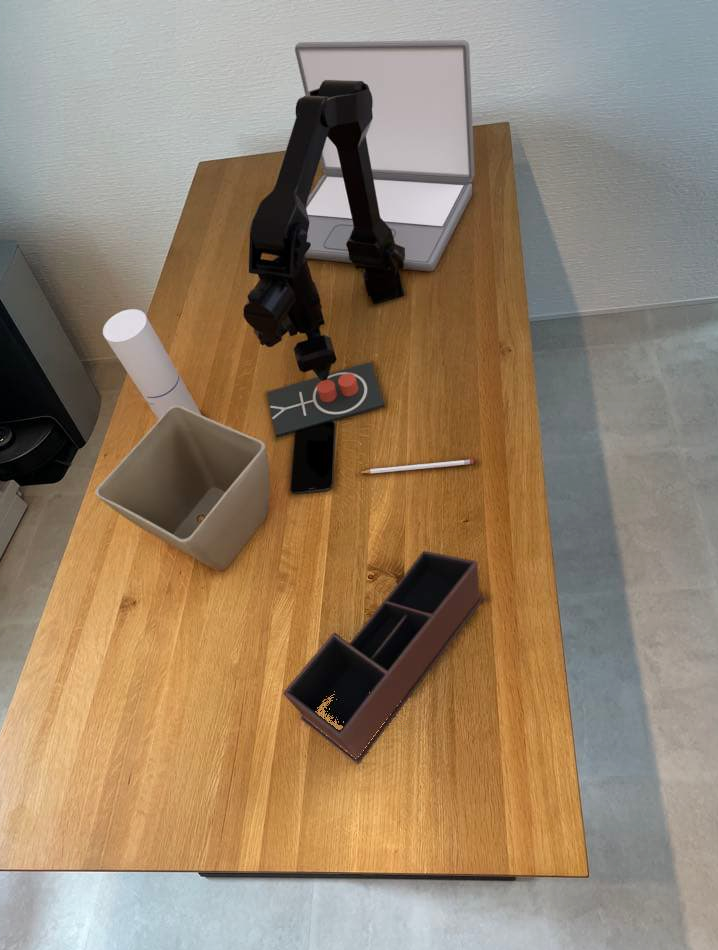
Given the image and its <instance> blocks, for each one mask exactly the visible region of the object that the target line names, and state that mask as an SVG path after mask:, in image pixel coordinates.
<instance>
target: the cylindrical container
mask: <svg viewBox="0 0 718 950" xmlns="http://www.w3.org/2000/svg"><path fill="white" fill-rule="evenodd" d="M102 335H103V337H104V339H105V340H106V342H107V343H108V345H109V346H110V348H111V350H112V351H113V352H114V354H115V356H116V357H117V359H118V360H119V362H120V363H121V365H122V366H123V368H124V369H125V371H126V372H127V374H128V376H129V377H130V379H131V380H132V382H133V384H134V385H135V386H136V388H137V389H138V391H139V393H140V395H142V397H143V399H144V400H145V402H146V404H147V405H148V406H149V408H150V409H151V411H152V413H153V414H154V415H155V417H156V419H157V421H158V420H159V419H160V418H161V417H162V416H163V415H164V414H165V413H166V411H167V410H168V409H169V408H170V407H171V406H174V405H180V406H182V407H184V408H187V409H189V410H191V411H193V412H195V413H198V414H200V415H202V413H201V411H200V409H199V407H198V405H197V404H196V402H195V400H194V399H193V398H194V397H192V395H191V393H190V391H189V390H188V388H187V386H186V385H185V382H184V381H183V379H182V377H181V376H180V374H179V372H178V370H177V368H176V367H175V365H174V363H173V361H172V359H171V358H170V356H169V354H168V352H167V351H166V349H165V347H164V345H163V343H162V342H161V340H160V338H159V337H158V335H157V333H156V331H155V329H154V327H153V326H152V324H151V322H150V320H149V318H148V317H147V315H146V313H145V312H144V311H142V310H140V309H135V308H129V309H125V310H122V311H120V312H117V313H116V314H113V316H111V317H110V318H109V319H108V320H107V321H106V322H105V323H104V326H103V328H102Z"/></svg>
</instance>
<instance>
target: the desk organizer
mask: <svg viewBox="0 0 718 950" xmlns="http://www.w3.org/2000/svg"><path fill="white" fill-rule="evenodd" d="M478 569H479V567H478V560H471V559H466V558H462V557H458V556H457V557H456V556H452V555H446V554H442V553H437V552H433V551H427V550H423V551H421V553H420V554H419V555H418V557H417V558H416V560H415V561H414V563H412V565H410V567H409V569H408V570H407V571H406V573H405V574H404V575H403V577H402V578H401V579H400V581H399V582H398V583H397V584H396V586H394V588H393V589H392V590H391V591H390V593H389V594H388V595H387V596H386V598H385V599H384V600H383V601H382V603H380V605H379V606H378V607H377V609H376V610H375V611H374V612H373V614H372V615H371V616H370V617H369V618H368V620H367V621H366V622H365V623H364V625H363V626H362V627H361V628H360V630H359V631H358V632H357V633H356V635H355V636H354V637H353V638H352V639H351V641H350V642H348V641H346V640H345V639H343V637H341V636H340V635H339V634H338V633H336V632H333V633H332V634H331V635H330V636H329V637H328V638H327V640H325V642H323V644H322V646H321V647H320V648H319V649H318V650H317V652H316V653H315V654H314V655H313V656H312V657H311V658H310V660H308V662H307V664H306V665H305V666H304V667H303V668H302V669H301V671H300V672H299V673H298V674H297V675H296V676H295V678H294V679H293V680H292V681H291V682H290V683H289V685H288V686H287V687H286V688H285V690H284V691H283V695H284V697H285V698H286V699H287V700H288V701H289V702H290V703H291V704H292V705H293V707H294V708H295V709H296V710H297V711H298V712H299V713H300V714H301V717H300V718H299V719H300V720H301V721H302V722H303V723H304V724H306V725H307V726H308V727H309V728H311V729H312V730H313V731H315V732H316V733H317V734H319V735H320V736H321V737H322V738H323V739H325V740H326V741H327V742H329V743H330V744H331V745H333V747H335V748H336V749H337V750H339V752H341V753H342V754H343V755H344V756H345V757H346V758H348V759H350V760H351V761H352V762H354V764H355V765H357V766H359V765H360V763H361V761H362V760H363V759H364V758H365V756H367V754H368V753H369V751H370V750H371V749H372V747H373V746H374V744H375V743H376V742H377V741H378V740H379V738H380V737H381V735H382V734H383V733H384V731H385V730H386V729H387V728H388V726H389V725H390V723H391V722H392V721H393V719H394V718H395V717H396V716H397V714H398V713H399V712H400V710H401V709H402V708H403V706H404V705H405V704H406V703H407V701H408V700H409V699H410V697H411V696H412V695H413V694H414V692H415V690H416V689H417V688H418V687H419V685H420V684H421V682H422V681H423V680H424V678H426V676H427V675H428V673H429V672H430V671H431V669H432V668H433V667H434V666H435V664H436V663H437V662H438V660H439V659H440V657H441V656H442V655H443V653H444V652H445V651H446V649H447V648H448V647H449V646H450V644H452V642H453V640H454V639H455V638H456V636H457V635H458V634H459V632H461V630H462V629H463V627H464V626H465V625H466V623H467V622H468V621H469V619H470V618H471V617H472V615H473V614H474V613H475V611H476V610H477V609H478V608H479V606H480V605H481V603H482V602H483V601H484V600H485V599H486V597H485V596H484V595H482V594H480V582H479V570H478ZM334 691H335V692H334ZM369 692H370V693H369ZM333 694H335V695H333ZM331 695H333V696H331ZM326 696H327V697H326ZM330 696H331V697H334V698H332V699H331V700H333V701H331V702H330V704H329V703H328V704H329V705H328V704H327V705H328V706H326V707H327V709H326V708H324V710H325V711H326V712H325V714H326V713H327V715H328V714H329V713H330V714H329V715H330V716H332V715H333V716H332V717H334V718H333V719H330V720H332V721H333V722H334V721H335V719H336V721H337V724H338V725H342V726H343V728H342V729H341V730H338V729H336V728H335V727H334V726H333V725H331V724H330V723H328V722H327V721H326V720H325V719H323V718H322V717H321V716H319V715H318V714H317V713H316V712H315V711H317V710H318V709H319V708H318V709H317V707H319V706H320V705H321V704H322V703H323V702H322V701H323V700H324V699H327V698H328V697H330ZM331 697H330V698H331ZM336 699H337V700H336ZM327 700H328V699H327ZM327 700H325V701H324V702H326V701H327ZM328 701H329V700H328ZM400 701H401V702H400ZM397 705H398V706H397ZM323 707H324V706H323ZM329 708H330V710H329ZM321 711H322V710H321ZM321 711H320V712H321ZM327 711H328V712H327ZM317 712H318V711H317ZM390 714H391V715H390ZM327 715H326V717H327ZM330 716H329V717H330ZM336 717H337V718H336ZM324 718H325V717H324ZM330 718H331V717H330ZM387 718H388V719H387ZM337 719H338V720H337ZM386 719H387V720H386ZM332 721H331V722H332ZM338 721H339V723H338ZM343 721H344V723H343ZM329 722H330V721H329ZM384 722H385V723H384ZM334 723H335V722H334ZM383 723H384V724H383ZM382 724H383V725H382ZM381 726H382V727H381ZM316 727H317V728H316ZM380 727H381V728H380ZM378 730H379V731H378ZM321 731H322V732H321ZM377 731H378V732H377ZM376 732H377V733H376ZM375 734H376V735H375ZM326 735H327V736H326ZM374 735H375V736H374ZM373 736H374V737H373ZM372 738H373V739H372ZM371 739H372V740H371ZM369 742H370V743H369ZM368 743H369V744H368ZM340 746H341V747H340ZM366 746H367V747H366ZM365 747H366V748H365ZM345 750H346V751H347V752H346V751H345ZM363 750H364V751H363ZM360 754H361V755H360ZM351 755H352V756H351ZM358 756H359V757H358ZM355 758H356V759H355Z"/></svg>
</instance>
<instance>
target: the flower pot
mask: <svg viewBox="0 0 718 950" xmlns="http://www.w3.org/2000/svg"><path fill="white" fill-rule="evenodd" d="M270 473H271V472H270V463H269V457H268V451H267V447H266V443H265V442H264V441H262V440H260V439H258V438H255V437H254V436H251V435H248V434H246V433H243V432H242V431H239V430H237V429H234V428H232V427H230V426H227V425H225V424H222V423H221V422H218V421H216V420H214V419H212V418H209V417H207V416H204V415H202V414H201V415H200V414H198V413H195V412H193V411H191V410H189V409H187V408H184V407H182V406H180V405H174V406H171V407H170V408H169V409H168V410H167V411H166V413H165V414H164V415H163V416H162V417H161V418H160V419H159V420H158V419H157V421H156V423H154V425H153V426H152V427H151V428H150V429H149V430H148V431H147V433H146V434H145V435H144V436H143V437H142V438H141V439H140V440H139V441H138V442H137V444H136V445H135V446H133V448H131V450H130V451H129V452H128V453H127V454H126V456H125V457H124V458H123V459H121V461H120V462H119V463H118V464H117V465H116V466H115V467H114V469H113V470H112V471H111V472H110V473H109V474H108V475H107V476H106V477H105V478H104V480H102V482H100V484H99V485H98V486H97V487H96V489H95V491H94V493H95V496H96V497H97V498H98V499H99V500H101V501H102V502H103V503H104V504H106V505H107V506H108V507H110V508H111V509H112V510H114V511H115V512H116V513H118V514H119V515H121V516H122V517H123V518H124V519H126V520H127V521H129V522H131V523H132V524H134V525H135V526H137V527H138V528H140V529H142V530H143V531H145V532H147V533H148V534H150V535H152V536H154V537H156V538H157V539H159V540H161V541H163V542H165V543H166V544H168V545H170V546H172V547H174V548H176V549H178V550H179V551H181V552H183V553H185V554H187V555H189V556H191V557H192V558H194V559H195V560H198V561H199V562H201V563H202V564H204V565H206V566H208V567H210V568H211V569H213V570H215V571H218V572H224V571H226V570H227V569H228V568H229V567H230V566H231V564H232V563H233V562H234V560H235V559H236V558H237V557H238V555H239V554H240V553H241V551H242V550H243V549H244V548H245V546H246V545H247V544H248V543H249V541H250V540H251V538H252V537H253V536H254V535H255V534H256V532H257V531H258V530H259V528H260V527H261V526H262V524H263V523H264V522H265V521H266V519H267V518H268V515H269V510H270V500H271V499H270V498H271V474H270ZM200 516H203V517H204V518H203V519H202V520H201V521H198V517H200Z"/></svg>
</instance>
